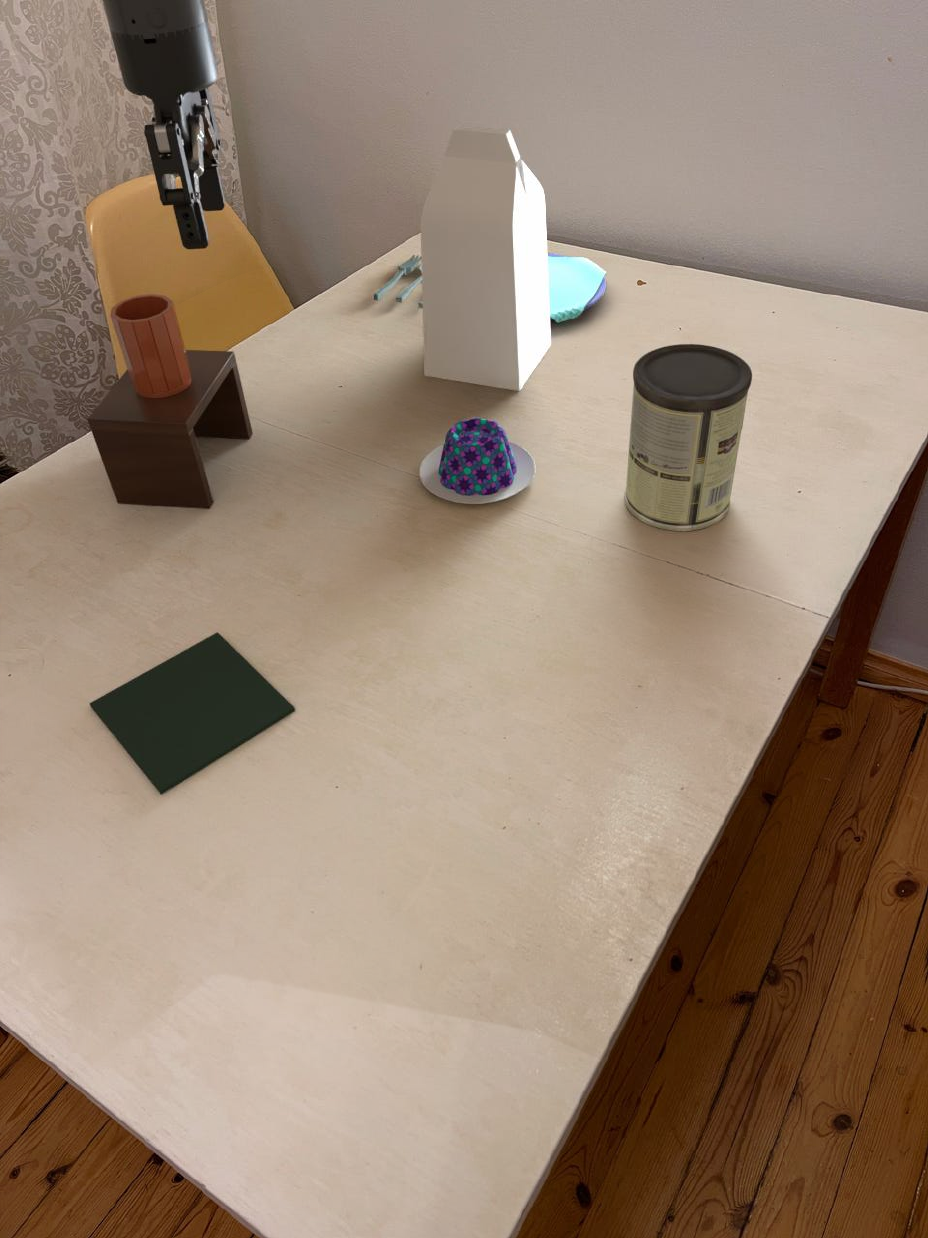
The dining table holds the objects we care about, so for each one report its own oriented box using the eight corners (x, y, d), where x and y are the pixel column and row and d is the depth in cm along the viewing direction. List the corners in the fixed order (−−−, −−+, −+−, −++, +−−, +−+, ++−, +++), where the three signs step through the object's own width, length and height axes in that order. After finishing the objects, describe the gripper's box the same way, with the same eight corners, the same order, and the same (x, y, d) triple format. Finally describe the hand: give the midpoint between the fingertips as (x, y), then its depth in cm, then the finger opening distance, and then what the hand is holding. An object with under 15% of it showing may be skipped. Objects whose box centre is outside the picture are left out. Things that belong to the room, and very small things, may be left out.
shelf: (210, 509, 97) (185, 423, 91) (117, 503, 99) (86, 419, 92) (252, 433, 107) (234, 351, 101) (168, 429, 109) (144, 347, 102)
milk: (424, 375, 115) (405, 143, 97) (461, 331, 123) (449, 108, 105) (519, 391, 111) (517, 152, 94) (551, 344, 119) (554, 116, 101)
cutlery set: (582, 341, 119) (583, 323, 118) (363, 311, 128) (361, 294, 126) (622, 274, 132) (623, 257, 131) (422, 251, 141) (420, 235, 140)
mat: (161, 795, 72) (159, 791, 71) (90, 706, 78) (89, 703, 78) (295, 710, 77) (294, 707, 77) (218, 635, 84) (217, 631, 84)
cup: (151, 404, 93) (127, 327, 88) (124, 383, 97) (100, 308, 91) (203, 383, 96) (183, 306, 90) (175, 363, 99) (154, 288, 94)
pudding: (434, 438, 105) (430, 396, 101) (543, 447, 103) (544, 403, 99) (407, 504, 96) (402, 460, 93) (525, 515, 94) (525, 470, 91)
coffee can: (641, 461, 100) (652, 335, 90) (740, 482, 97) (764, 353, 87) (608, 518, 93) (618, 388, 84) (714, 542, 90) (736, 410, 80)
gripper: (131, 0, 80) (179, 200, 91) (85, 43, 70) (146, 263, 81) (221, -5, 80) (258, 196, 91) (188, 37, 70) (235, 258, 81)
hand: (205, 227), depth 86 cm, fingers open, 8 cm apart
